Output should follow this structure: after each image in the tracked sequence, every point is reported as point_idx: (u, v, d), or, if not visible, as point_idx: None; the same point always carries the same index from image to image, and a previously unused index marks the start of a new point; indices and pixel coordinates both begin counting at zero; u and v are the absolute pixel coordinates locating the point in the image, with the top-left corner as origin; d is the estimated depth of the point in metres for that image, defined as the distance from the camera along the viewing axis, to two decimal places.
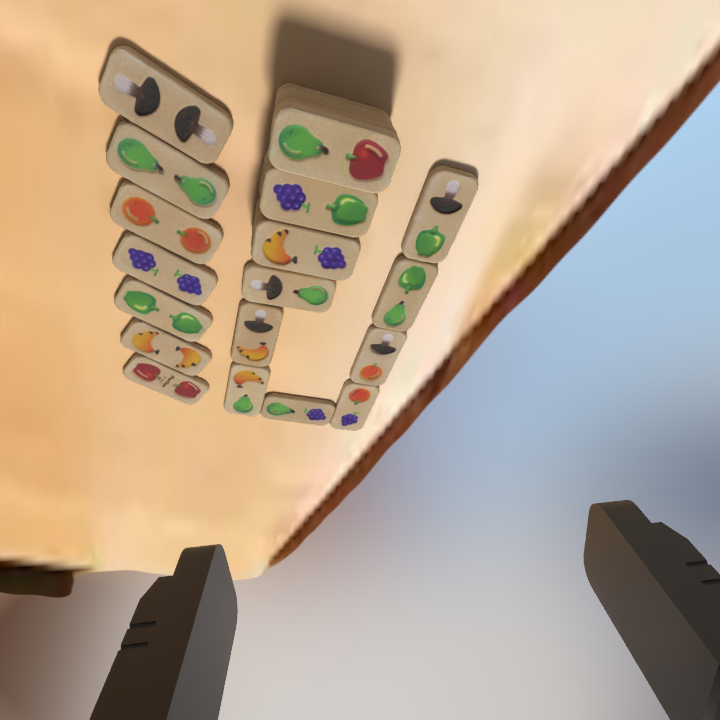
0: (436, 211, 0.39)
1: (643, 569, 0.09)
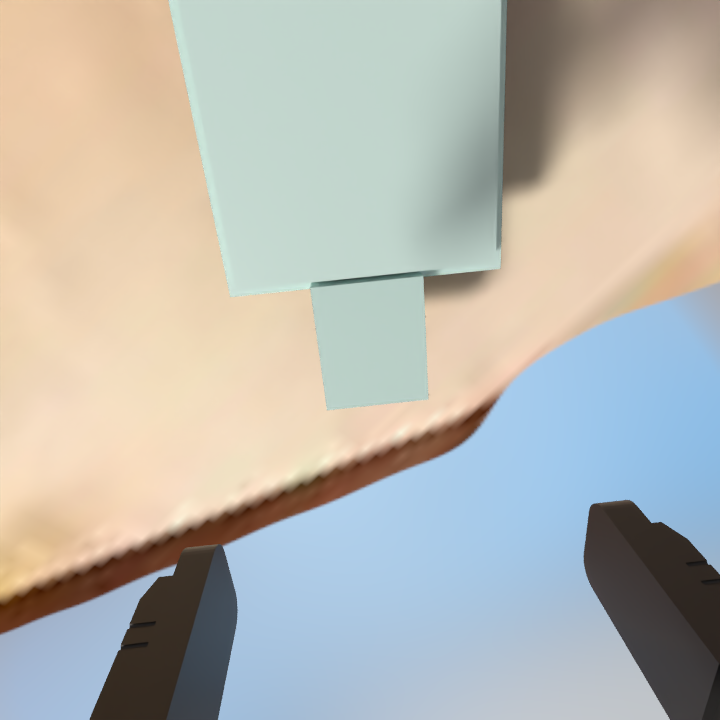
0: None
1: (643, 569, 0.09)
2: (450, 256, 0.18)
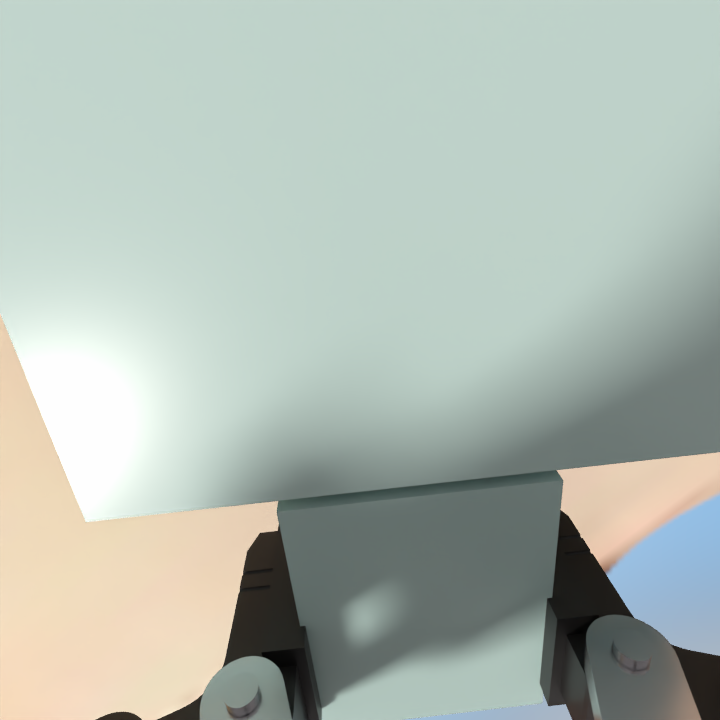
0: None
1: None
2: (637, 436, 0.07)
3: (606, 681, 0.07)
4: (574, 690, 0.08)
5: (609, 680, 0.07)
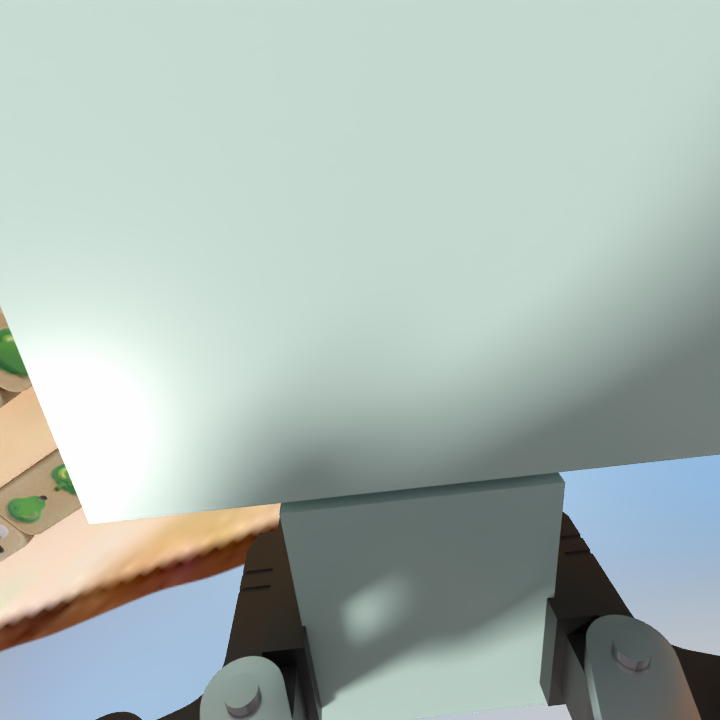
0: None
1: None
2: (639, 439, 0.07)
3: (606, 681, 0.07)
4: (574, 690, 0.08)
5: (609, 680, 0.07)
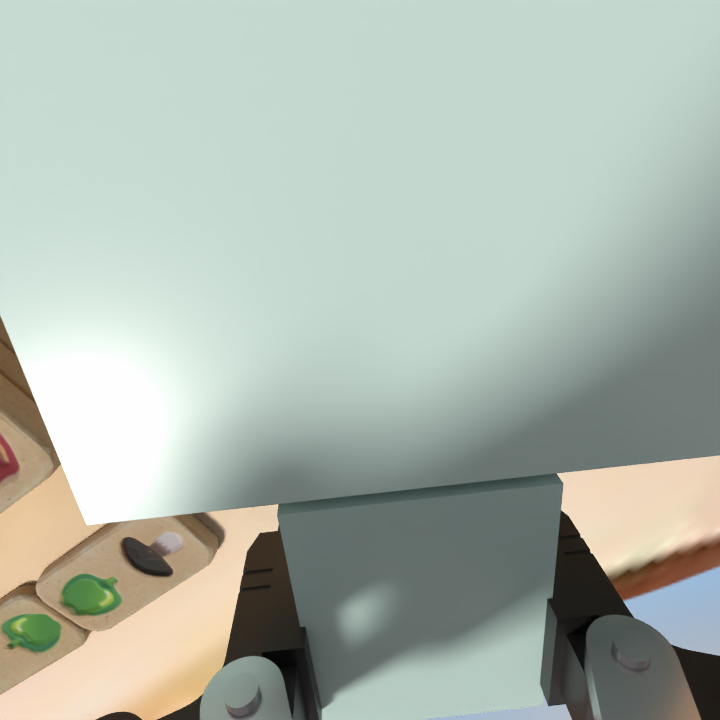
0: (125, 559, 0.21)
1: None
2: (637, 440, 0.07)
3: (606, 681, 0.07)
4: (574, 690, 0.08)
5: (609, 680, 0.07)
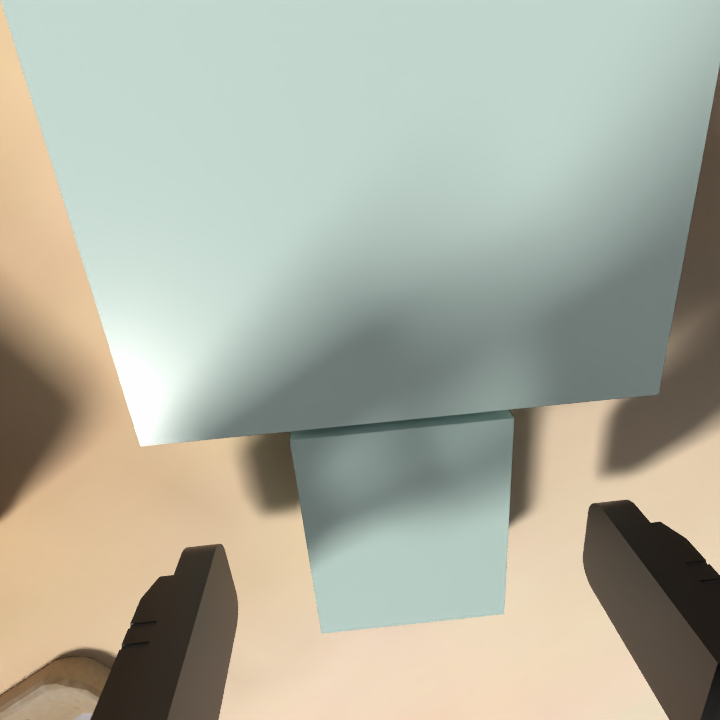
0: None
1: (642, 569, 0.09)
2: (571, 383, 0.09)
3: None
4: None
5: None
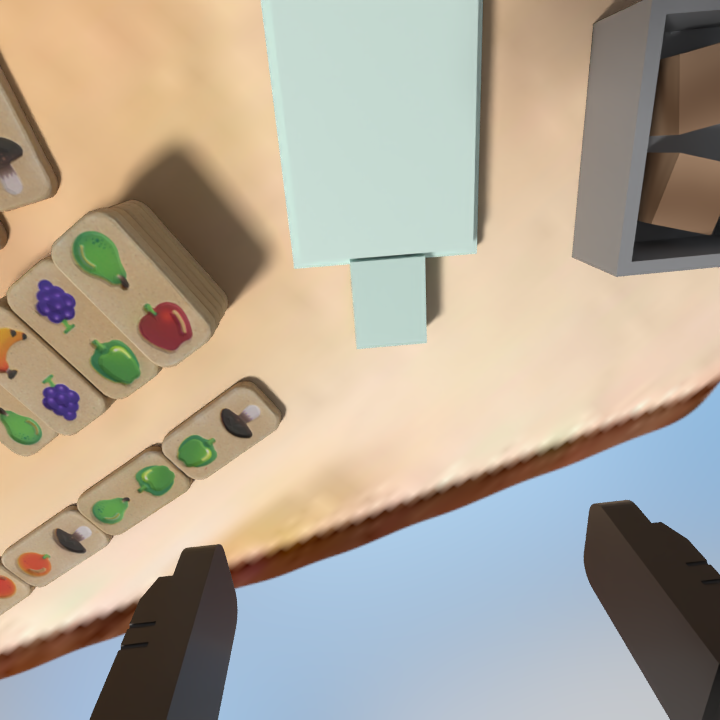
0: (222, 424, 0.32)
1: (643, 569, 0.09)
2: (443, 243, 0.27)
3: None
4: None
5: None
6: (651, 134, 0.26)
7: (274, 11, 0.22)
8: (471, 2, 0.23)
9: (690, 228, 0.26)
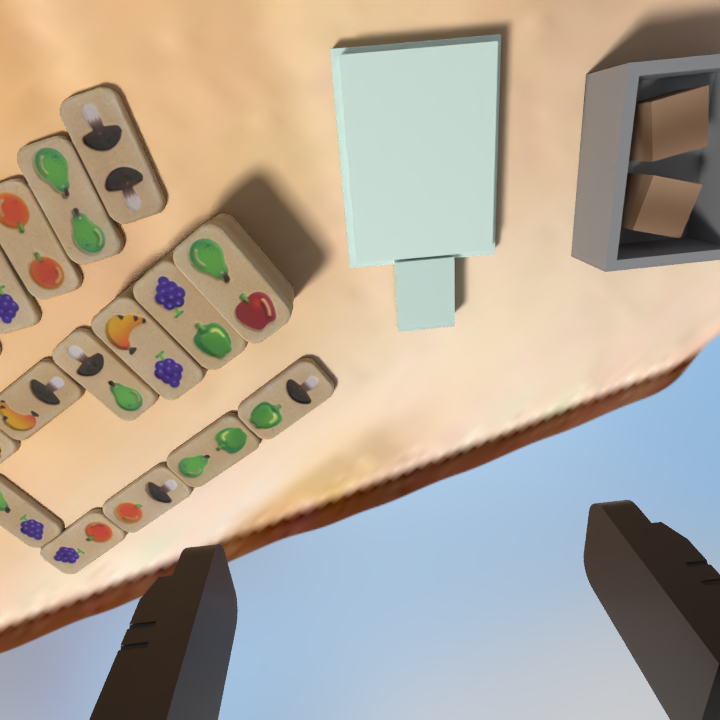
0: (287, 392, 0.40)
1: (643, 569, 0.09)
2: (468, 246, 0.34)
3: None
4: None
5: None
6: (632, 159, 0.33)
7: (343, 74, 0.30)
8: (492, 64, 0.30)
9: (663, 233, 0.33)
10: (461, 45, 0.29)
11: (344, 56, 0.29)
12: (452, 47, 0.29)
